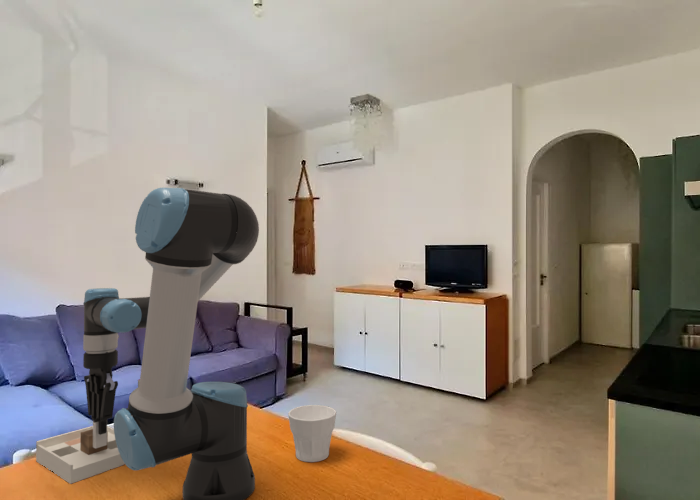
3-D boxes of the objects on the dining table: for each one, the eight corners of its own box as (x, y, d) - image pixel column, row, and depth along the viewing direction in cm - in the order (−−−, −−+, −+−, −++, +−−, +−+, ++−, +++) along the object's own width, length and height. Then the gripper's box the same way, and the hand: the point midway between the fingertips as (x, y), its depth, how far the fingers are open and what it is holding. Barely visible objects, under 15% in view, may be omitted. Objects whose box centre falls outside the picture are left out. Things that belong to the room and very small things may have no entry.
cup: (325, 469, 110) (325, 422, 111) (279, 461, 114) (279, 417, 115) (343, 449, 122) (342, 407, 122) (300, 443, 126) (300, 402, 126)
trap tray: (142, 458, 117) (142, 438, 117) (70, 483, 103) (70, 461, 103) (105, 440, 129) (105, 422, 129) (36, 461, 115) (36, 441, 115)
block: (107, 449, 115) (107, 431, 115) (88, 455, 112) (88, 436, 112) (99, 444, 118) (99, 427, 118) (80, 450, 114) (80, 432, 115)
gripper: (129, 351, 113) (128, 447, 112) (104, 345, 121) (102, 435, 120) (97, 356, 107) (96, 458, 106) (73, 349, 115) (71, 444, 114)
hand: (99, 445), depth 113 cm, fingers closed
